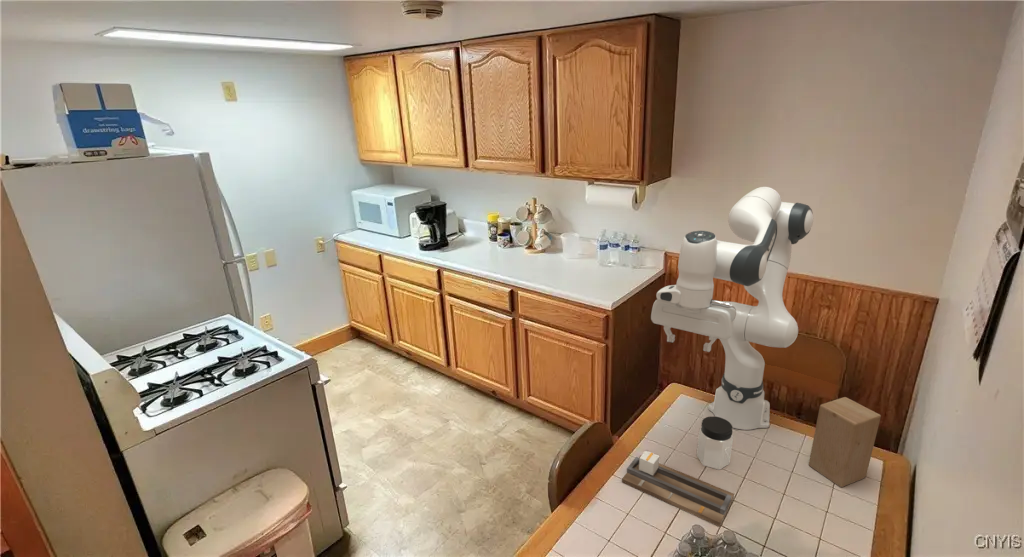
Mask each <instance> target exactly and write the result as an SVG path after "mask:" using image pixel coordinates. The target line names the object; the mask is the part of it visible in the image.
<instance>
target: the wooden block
mask: <svg viewBox="0 0 1024 557" xmlns="http://www.w3.org/2000/svg"><path fill="white" fill-rule="evenodd" d="M881 417H882V415H881V414H880V413H877V412H875V411H874V410H872V409H870V408H868V407H865V406H864V405H862V404H860V403H858V402H857V401H855V400H852V399H850V398H849V397H846V396H844V397H839V398H837V399H834V400H831V401H828V402H825V403H821V404H820V405H819V410H818V414H817V419H816V425H815V428H814V429H815V431H814V434H813V440H812V445H811V448H810V449H811V450H810V455H809V460H808V466H809V467H810V468H812V469H814V470H815V471H817V472H818V473H819V474H821V475H822V476H824V477H825V478H826V479H828V480H829V481H831V482H832V483H834V484H835V485H837V486H838V487H839V488H843V487H845V486H848V485H851V484H853V483H856V482H858V481H860V480H863V479H865V478H867V474H868V470H869V466H870V462H871V458H872V455H873V454H872V453H873V450H874V446H875V441H876V437H877V434H878V430H879V426H880V421H881Z"/></svg>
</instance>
